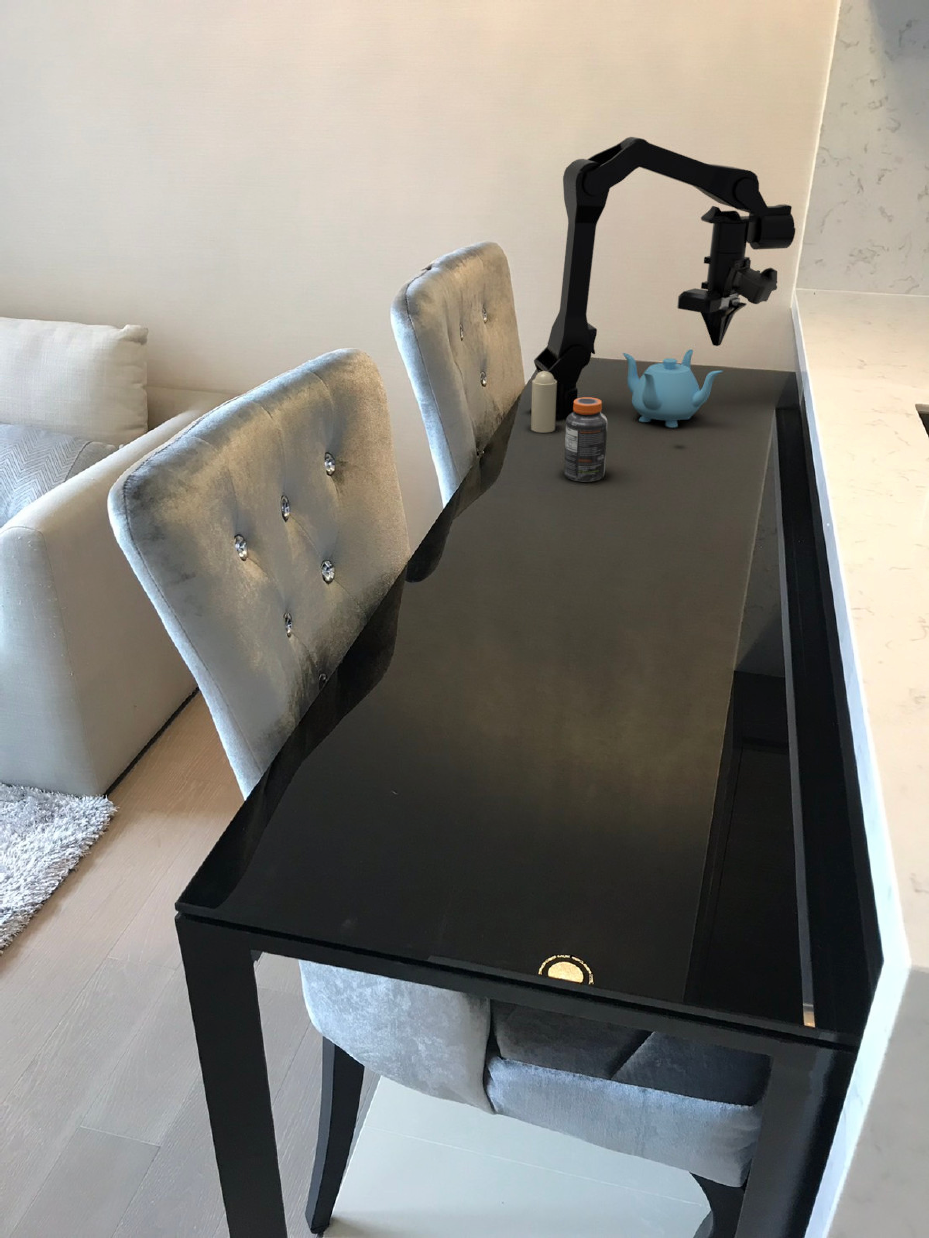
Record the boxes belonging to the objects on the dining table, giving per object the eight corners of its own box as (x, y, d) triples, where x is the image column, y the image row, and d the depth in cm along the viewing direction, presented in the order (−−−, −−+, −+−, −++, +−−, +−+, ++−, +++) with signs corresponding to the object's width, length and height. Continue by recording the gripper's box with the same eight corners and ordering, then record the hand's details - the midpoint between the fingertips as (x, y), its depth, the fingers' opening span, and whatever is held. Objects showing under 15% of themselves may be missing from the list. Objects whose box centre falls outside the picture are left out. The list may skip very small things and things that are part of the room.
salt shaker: (525, 429, 165) (527, 371, 161) (541, 423, 168) (543, 366, 163) (544, 434, 163) (546, 376, 158) (560, 428, 165) (562, 371, 161)
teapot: (618, 409, 174) (621, 351, 169) (690, 405, 176) (696, 347, 171) (639, 433, 163) (644, 372, 158) (717, 428, 165) (724, 367, 160)
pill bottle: (608, 470, 149) (613, 396, 143) (599, 485, 144) (604, 408, 138) (569, 466, 150) (572, 392, 145) (559, 480, 145) (562, 404, 140)
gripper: (741, 264, 155) (728, 364, 162) (799, 249, 166) (785, 343, 174) (680, 256, 162) (671, 352, 169) (740, 242, 173) (729, 333, 181)
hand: (716, 345), depth 173 cm, fingers closed
